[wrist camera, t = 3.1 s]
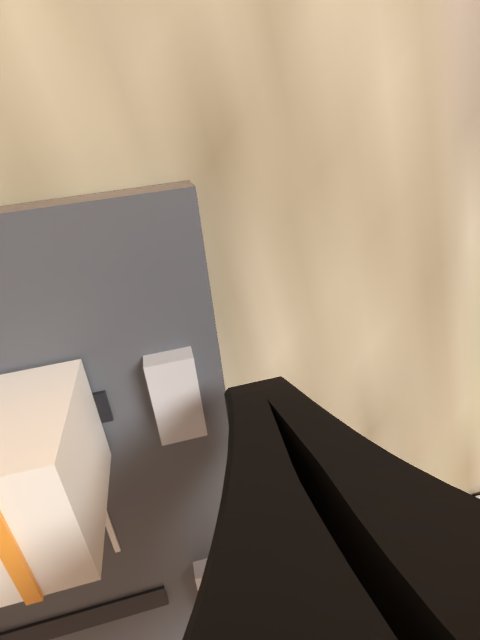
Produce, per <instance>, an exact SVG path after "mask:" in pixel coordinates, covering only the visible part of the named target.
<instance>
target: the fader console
mask: <svg viewBox="0 0 480 640" xmlns="http://www.w3.org/2000/svg"><path fill="white" fill-rule="evenodd" d="M78 359H81V361H82V364H83V367H84V370H85V373H86V376H87V379H88V382H89V386H90V389H91V392H92V395H93V398H94V401H95V404H96V408H97V411H98V414H99V417H100V420H101V423H102V426H103V429H104V433H105V436H106V439H107V442H108V445H109V448H110V451H111V464H110V476H109V488H108V500H107V512H106V524H105V536H104V548H103V560H102V572H101V580H98V581H95V582H91V583H87V584H84V585H80V586H77V587H73V588H69V589H66V590H62V591H59V592H55V593H51V594H48V595H44V599H43V601H41V602H37V603H34V604H30V605H27V606H26V604H25V602H24V601H23V602H19V603H16V604H12V605H8V606H5V607H1V608H0V640H182V639H183V636H184V633H185V630H186V627H187V624H188V622H189V619H190V616H191V613H192V610H193V607H194V603H195V600H196V597H197V594H198V590H199V587H200V584H201V580H202V576H203V573H204V569H205V565H206V562H207V558H208V554H209V551H210V547H211V543H212V539H213V535H214V530H215V526H216V522H217V517H218V512H219V507H220V502H221V496H222V490H223V483H224V476H225V469H226V462H227V452H228V436H229V424H228V417H227V410H226V403H225V397H224V393H225V385H224V378H223V372H222V365H221V358H220V351H219V344H218V338H217V331H216V324H215V317H214V310H213V303H212V297H211V290H210V283H209V276H208V269H207V263H206V256H205V249H204V242H203V235H202V228H201V222H200V215H199V208H198V201H197V194H196V187H195V185H193V184H192V183H191V182H190V181H181V182H174V183H167V184H160V185H152V186H145V187H138V188H130V189H123V190H116V191H109V192H101V193H94V194H87V195H80V196H72V197H65V198H58V199H51V200H43V201H36V202H29V203H21V204H14V205H7V206H0V375H1V374H6V373H11V372H17V371H22V370H27V369H32V368H37V367H42V366H47V365H52V364H57V363H62V362H67V361H72V360H78Z"/></svg>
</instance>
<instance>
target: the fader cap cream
mask: <svg viewBox="0 0 480 640" xmlns="http://www.w3.org/2000/svg"><path fill="white" fill-rule="evenodd" d="M110 464H111V451H110V448H109V445H108V442H107V439H106V436H105V433H104V429H103V426H102V423H101V420H100V417H99V414H98V411H97V408H96V404H95V401H94V398H93V395H92V392H91V389H90V386H89V382H88V379H87V376H86V373H85V370H84V367H83V364H82V361H81V359H78V360H72V361H67V362H62V363H57V364H52V365H47V366H42V367H37V368H32V369H27V370H22V371H17V372H11V373H6V374H1V375H0V608H1V607H5V606H8V605H12V604H16V603H19V602H23V601H24V602H25V604H26V606H27V605H30V604H34V603H37V602H41V601H43V599H44V595H48V594H51V593H55V592H59V591H62V590H66V589H69V588H73V587H77V586H80V585H84V584H87V583H91V582H95V581H98V580H101V572H102V560H103V548H104V536H105V524H106V512H107V500H108V488H109V476H110Z"/></svg>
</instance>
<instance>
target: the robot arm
mask: <svg viewBox="0 0 480 640" xmlns="http://www.w3.org/2000/svg"><path fill="white" fill-rule="evenodd" d="M224 397H225V403H226V410H227V417H228V424H229V436H228V452H227V462H226V469H225V476H224V483H223V490H222V496H221V502H220V507H219V512H218V517H217V522H216V526H215V530H214V535H213V539H212V543H211V547H210V551H209V554H208V558H207V562H206V565H205V569H204V573H203V576H202V580H201V584H200V587H199V590H198V594H197V597H196V600H195V603H194V607H193V610H192V613H191V616H190V619H189V622H188V624H187V627H186V630H185V633H184V636H183V639H182V640H480V495H478V496H473V495H470V494H468V493H466V492H464V491H462V490H460V489H458V488H455V487H453V486H451V485H449V484H447V483H445V482H443V481H441V480H439V479H437V478H435V477H434V476H432V475H430V474H428V473H426V472H424V471H422V470H420V469H418V468H416V467H414V466H412V465H411V464H409V463H407V462H405V461H403V460H402V459H400V458H398V457H396V456H394V455H393V454H391V453H389V452H388V451H386V450H385V449H383V448H381V447H380V446H378V445H376V444H375V443H373V442H371V441H370V440H368V439H367V438H365V437H364V436H362V435H361V434H359V433H358V432H356V431H355V430H353V429H352V428H350V427H349V426H347V425H346V424H344V423H343V422H342V421H340V420H339V419H337V418H336V417H334V416H333V415H332V414H330V413H329V412H327V411H326V410H325V409H323V408H322V407H321V406H319V405H318V404H317V403H315V402H314V401H313V400H311V399H310V398H309V397H307V396H306V395H305V394H303V393H302V392H301V391H300V390H298V389H297V388H296V387H294V386H293V385H292V384H291V383H289V382H288V381H287V380H285V379H284V378H282V377H276V378H272V379H267V380H263V381H258V382H253V383H249V384H244V385H240V386H235V387H231V388H228V389H227V390H226V392H225V393H224Z"/></svg>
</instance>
